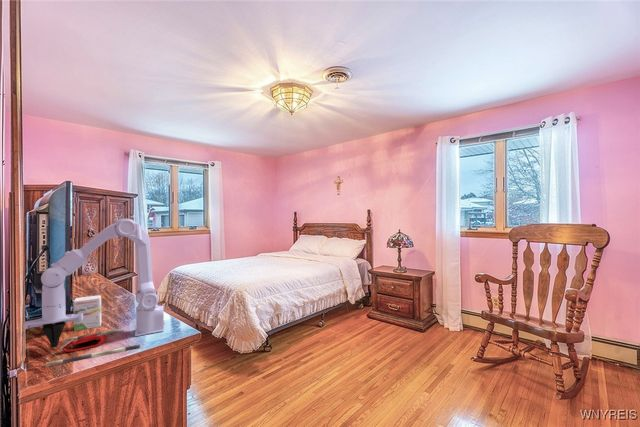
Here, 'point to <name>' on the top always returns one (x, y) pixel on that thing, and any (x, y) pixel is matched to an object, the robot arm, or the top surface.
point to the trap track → (93, 353)
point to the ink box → (88, 312)
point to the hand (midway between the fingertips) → (54, 346)
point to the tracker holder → (85, 339)
